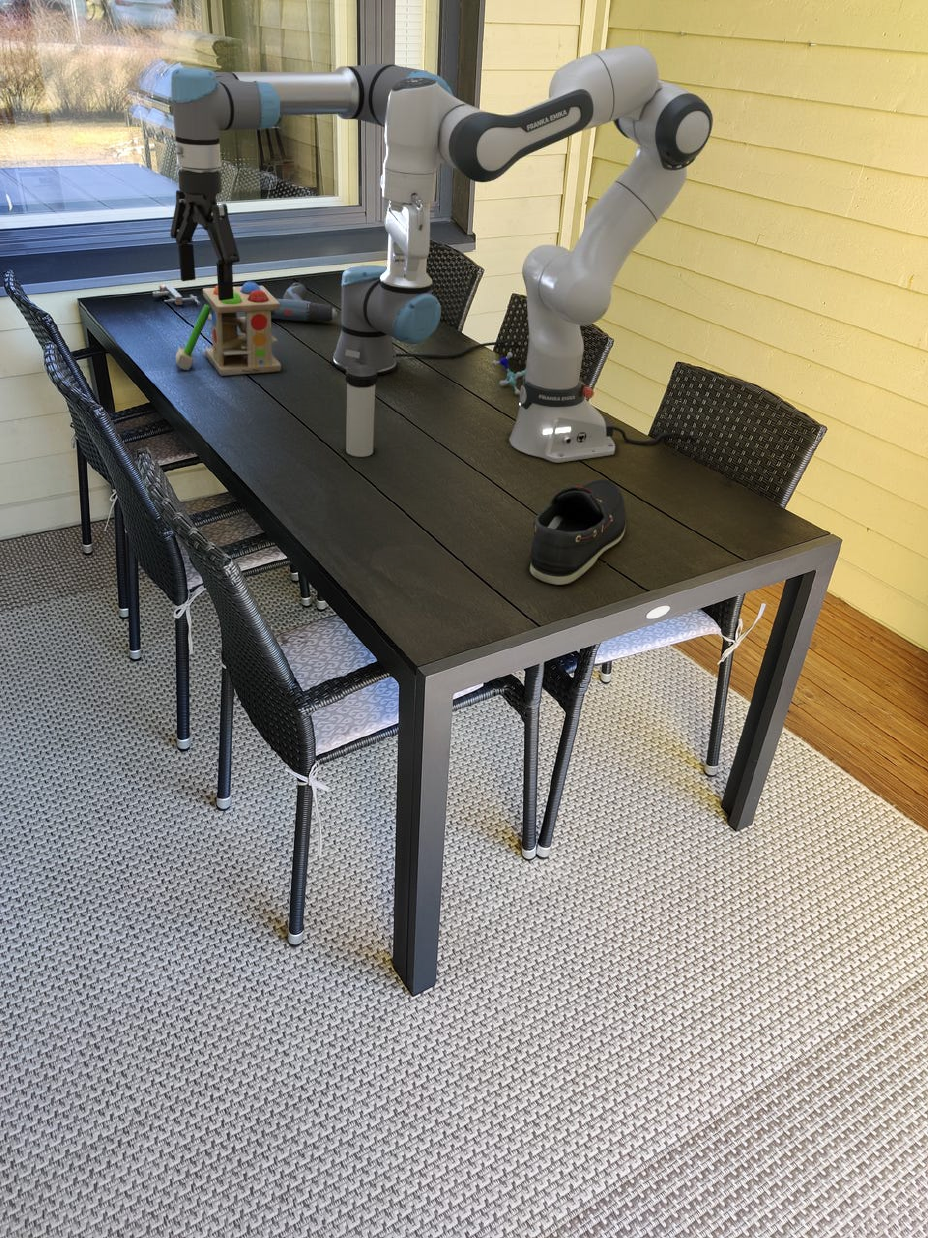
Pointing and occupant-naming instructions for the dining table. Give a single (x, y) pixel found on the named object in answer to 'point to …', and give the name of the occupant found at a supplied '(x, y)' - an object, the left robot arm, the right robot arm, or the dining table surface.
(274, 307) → the pounding bench toy
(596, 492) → the boat shoe
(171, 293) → the clamp
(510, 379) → the molecular model
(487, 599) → the dining table surface
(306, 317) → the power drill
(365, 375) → the lid
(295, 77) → the left robot arm
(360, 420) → the jar
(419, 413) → the dining table surface
